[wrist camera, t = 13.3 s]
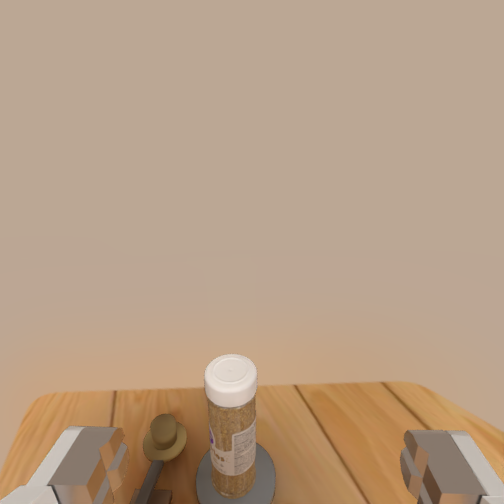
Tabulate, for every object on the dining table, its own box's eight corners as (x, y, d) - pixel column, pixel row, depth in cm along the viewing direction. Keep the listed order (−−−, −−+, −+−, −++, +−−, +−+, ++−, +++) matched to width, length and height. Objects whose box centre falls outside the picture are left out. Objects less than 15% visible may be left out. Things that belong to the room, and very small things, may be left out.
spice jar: (203, 470, 31) (194, 364, 26) (241, 446, 33) (238, 345, 29) (226, 513, 27) (220, 398, 23) (266, 483, 30) (268, 373, 25)
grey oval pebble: (274, 446, 35) (274, 439, 34) (276, 531, 27) (276, 522, 27) (204, 444, 35) (204, 436, 35) (188, 527, 27) (187, 518, 27)
